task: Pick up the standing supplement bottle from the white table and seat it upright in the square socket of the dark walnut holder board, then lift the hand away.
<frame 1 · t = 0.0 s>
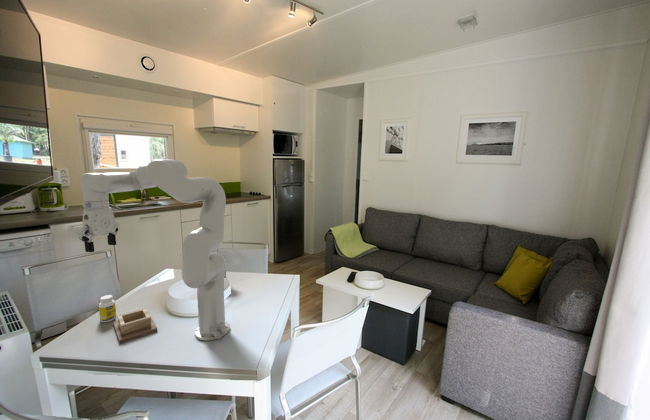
hand: (101, 248, 111), 31 cm above the table, tool pointing down, fingers open, 9 cm apart
french press: (217, 286, 151), on the table
supplement bottle: (108, 319, 117), on the table
socket board: (135, 328, 111), on the table
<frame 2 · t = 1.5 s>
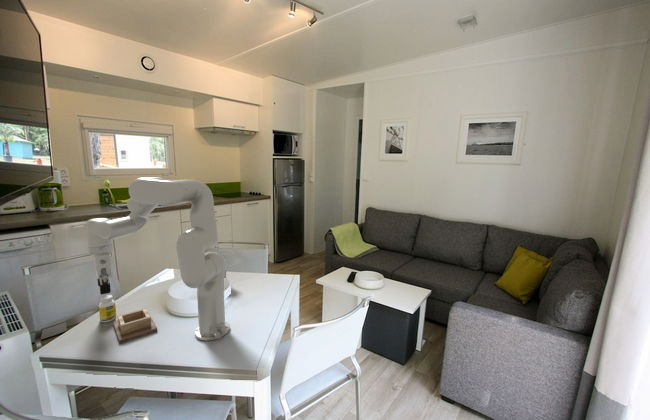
hand: (104, 289, 115), 13 cm above the table, tool pointing down, fingers open, 9 cm apart
nothing on the table moved.
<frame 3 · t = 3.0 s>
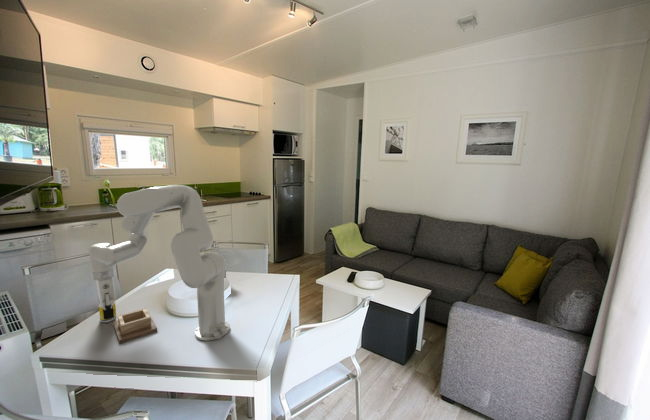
hand: (108, 314, 117), 2 cm above the table, tool pointing down, fingers closed on supplement bottle, 5 cm apart
supplement bottle: (108, 319, 117), on the table, touching gripper
everything else where it was.
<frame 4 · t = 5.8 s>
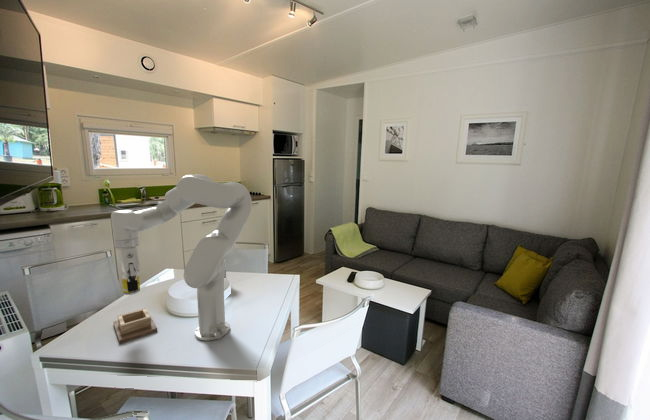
hand: (131, 287, 109), 17 cm above the table, tool pointing down, fingers closed on supplement bottle, 5 cm apart
supplement bottle: (132, 293, 109), point 15 cm above the table, touching gripper
everything else where it was.
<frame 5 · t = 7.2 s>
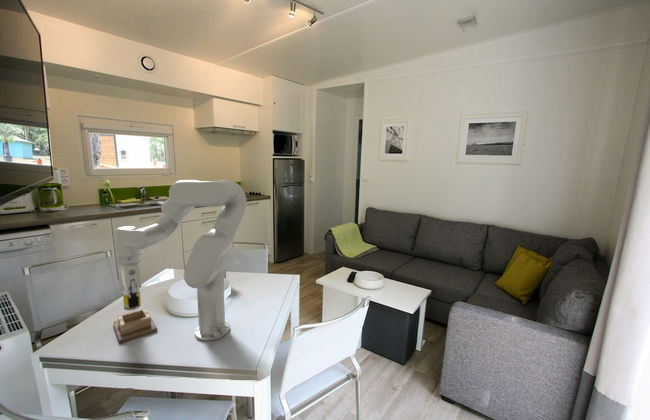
hand: (132, 303, 110), 11 cm above the table, tool pointing down, fingers closed on supplement bottle, 5 cm apart
supplement bottle: (132, 308, 110), point 8 cm above the table, touching gripper
everything else where it was.
when the fingers open (6 cm above the table, at t = 8.5 s): supplement bottle drops 2 cm, resting on socket board.
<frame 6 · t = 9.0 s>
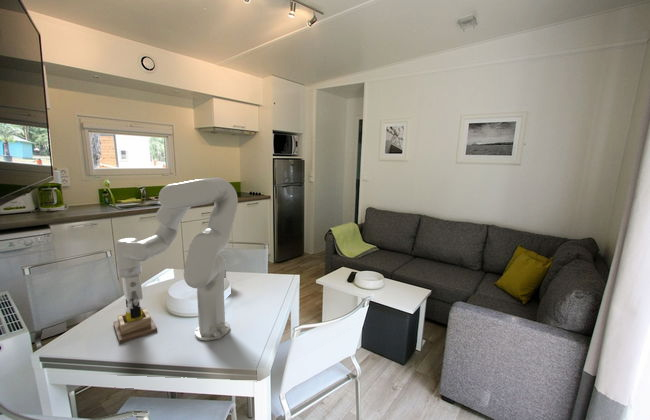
hand: (133, 312, 110), 7 cm above the table, tool pointing down, fingers open, 9 cm apart
supplement bottle: (135, 325, 111), point 1 cm above the table, touching socket board
everything else where it was.
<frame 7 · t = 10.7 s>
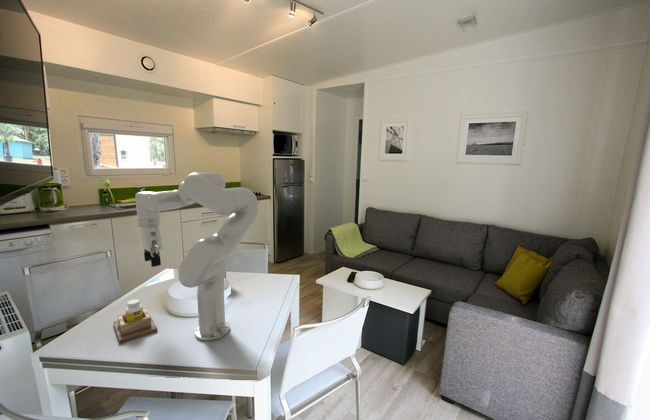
hand: (152, 263, 116), 24 cm above the table, tool pointing down, fingers open, 9 cm apart
nothing on the table moved.
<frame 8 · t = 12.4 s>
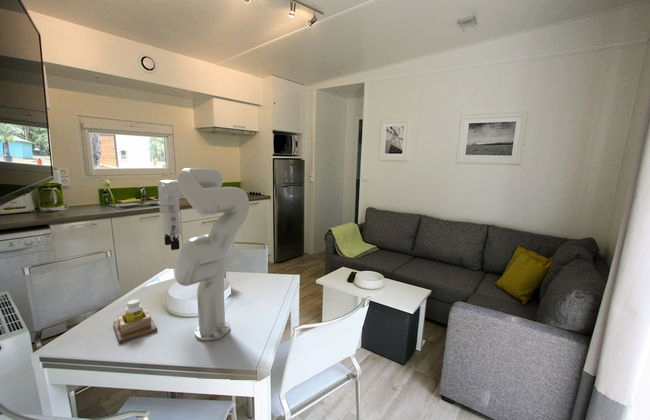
hand: (172, 246, 124), 28 cm above the table, tool pointing down, fingers open, 9 cm apart
nothing on the table moved.
at the end: supplement bottle 0.3 cm off-centre on the socket board, point 1.3 cm above the socket board's base; supplement bottle tilted 0°; the gripper is holding nothing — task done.
